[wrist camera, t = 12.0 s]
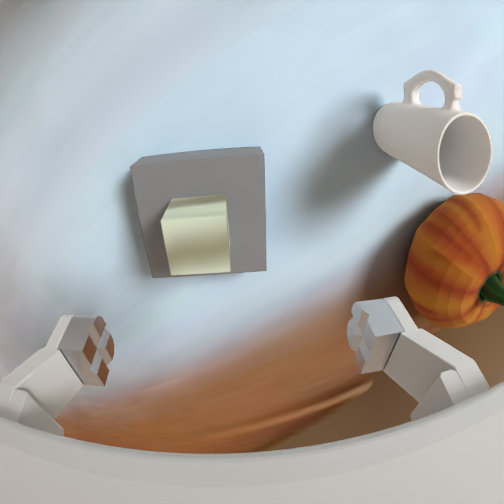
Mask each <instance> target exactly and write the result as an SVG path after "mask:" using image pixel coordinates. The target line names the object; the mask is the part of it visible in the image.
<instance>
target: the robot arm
mask: <svg viewBox="0 0 504 504" xmlns="http://www.w3.org/2000/svg"><path fill="white" fill-rule="evenodd" d="M351 312H352V314H353V316H354V317H353V318H352V319H351V320H350V321H349V322H348V327H347V338H348V342H349V345H350V348H351V349H353V350H354V351H355V352H357V353H356V356H355V361H356V363H357V366H358V369H359V371H360V374H363V373H369V372H375V371H380V370H384V372H385V373H386V374H388V375H389V376H390V377H391V378H392V379H393V380H394V381H395V382H396V383H398V384H399V385H400V386H401V387H402V388H404V390H406V391H407V392H408V393H409V394H410V395H411V396H413V397H414V398H415V399H416V400H417V401H418V402H419V404H418V406H417V407H416V408H415V409H414V411H413V412H412V414H411V419H412V421H411V422H408V423H405V424H402V425H399V426H395V427H392V428H389V429H385V430H382V431H378V432H374V433H371V434H367V435H363V436H358V437H354V438H350V439H345V440H341V441H336V442H330V443H325V444H319V445H313V446H308V447H301V448H293V449H285V450H276V451H265V452H253V453H233V454H185V453H166V452H154V451H143V450H135V449H127V448H120V447H113V446H107V445H101V444H96V443H90V442H86V441H81V440H76V439H72V438H68V437H64V436H63V434H64V430H63V428H62V427H61V426H60V425H59V424H58V423H56V422H55V421H54V420H55V419H56V417H57V416H58V415H59V414H60V413H61V412H62V410H63V409H64V408H65V407H66V406H67V405H68V403H69V402H70V401H71V400H72V399H73V398H74V397H75V395H76V394H77V393H78V392H79V391H80V390H81V389H82V387H83V386H84V385H83V384H85V385H96V386H105V383H106V380H107V376H108V373H109V369H108V367H107V364H108V363H110V362H111V361H112V359H113V355H114V342H113V338H112V336H111V334H110V333H109V332H108V331H106V330H105V329H104V328H105V326H106V323H105V321H104V319H103V317H101V316H92V315H68V314H64V315H62V316H61V317H60V319H59V320H58V322H57V324H56V326H55V328H54V330H53V332H52V334H51V336H50V338H49V340H48V342H47V344H46V346H45V348H41V349H39V350H38V351H37V352H35V353H34V354H33V355H32V356H30V357H29V358H28V359H27V360H25V361H24V362H23V363H22V364H20V365H19V366H18V367H17V368H15V369H14V370H13V371H12V372H11V373H9V374H8V375H7V376H6V377H4V378H3V379H2V380H1V381H0V504H504V381H503V382H501V383H499V384H497V385H496V386H494V387H492V388H490V387H489V385H488V383H487V382H486V380H485V378H484V376H483V375H482V373H481V371H480V370H479V368H478V367H477V364H476V363H475V361H474V360H473V359H471V358H469V357H468V356H466V355H465V354H463V353H461V352H460V351H458V350H457V349H455V348H453V347H452V346H450V345H448V344H446V343H445V342H443V341H442V340H440V339H438V338H437V337H435V336H433V335H432V334H430V333H428V332H427V331H425V330H423V329H418V328H417V326H416V325H415V323H414V322H413V320H412V318H411V317H410V315H409V314H408V312H407V310H406V309H405V307H404V306H403V304H402V303H401V301H400V299H399V298H398V297H396V296H394V297H388V298H382V299H375V300H367V301H360V302H355V303H354V305H353V307H352V311H351Z"/></svg>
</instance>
